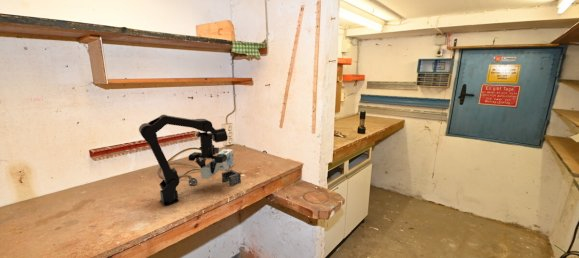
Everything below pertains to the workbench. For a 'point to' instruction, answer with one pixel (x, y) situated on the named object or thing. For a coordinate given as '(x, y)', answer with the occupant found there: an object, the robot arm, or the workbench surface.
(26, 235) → the workbench surface
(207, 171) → the grey rectangular block
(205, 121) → the robot arm
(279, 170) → the workbench surface
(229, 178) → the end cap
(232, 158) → the light bulb box
